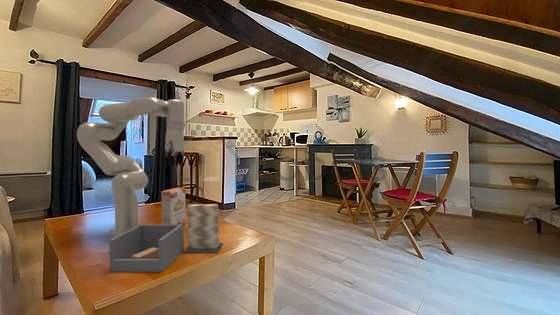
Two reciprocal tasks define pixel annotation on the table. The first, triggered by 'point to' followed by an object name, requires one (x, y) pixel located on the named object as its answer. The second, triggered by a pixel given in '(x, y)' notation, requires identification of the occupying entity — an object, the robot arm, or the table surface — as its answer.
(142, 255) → the upper offcut
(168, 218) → the cracker box
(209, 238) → the tall board
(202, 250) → the mat
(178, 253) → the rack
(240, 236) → the table surface
